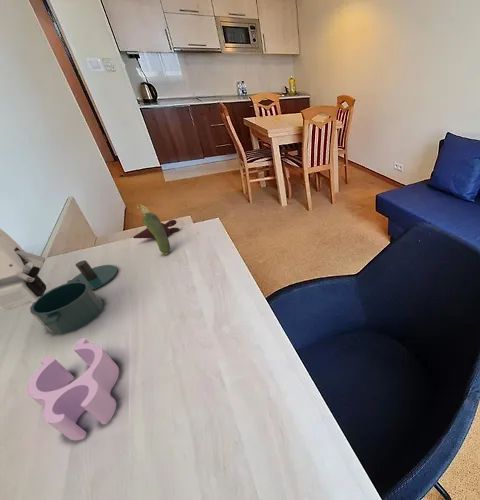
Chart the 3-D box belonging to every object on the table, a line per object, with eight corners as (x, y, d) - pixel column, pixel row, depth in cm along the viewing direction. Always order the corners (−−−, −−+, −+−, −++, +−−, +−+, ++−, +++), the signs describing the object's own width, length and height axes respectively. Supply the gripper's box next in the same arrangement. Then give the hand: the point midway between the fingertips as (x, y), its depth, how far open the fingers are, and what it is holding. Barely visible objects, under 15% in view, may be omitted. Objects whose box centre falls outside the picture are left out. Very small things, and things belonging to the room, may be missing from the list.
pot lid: (62, 300, 90) (46, 282, 86) (76, 275, 100) (62, 258, 96) (113, 286, 93) (100, 268, 89) (121, 263, 104) (110, 246, 100)
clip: (131, 407, 60) (113, 389, 56) (54, 458, 54) (27, 440, 50) (112, 349, 73) (96, 330, 69) (48, 384, 66) (26, 366, 62)
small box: (12, 296, 67) (-4, 279, 64) (44, 286, 69) (30, 270, 66) (3, 312, 62) (-15, 295, 60) (37, 302, 65) (22, 284, 62)
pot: (37, 349, 75) (15, 329, 71) (62, 303, 89) (45, 284, 84) (94, 331, 78) (77, 311, 74) (110, 289, 92) (96, 270, 88)
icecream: (132, 236, 105) (178, 223, 113) (127, 224, 109) (172, 212, 117) (138, 250, 110) (182, 237, 118) (134, 238, 114) (177, 226, 122)
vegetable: (173, 249, 108) (147, 198, 97) (177, 253, 106) (151, 202, 94) (160, 254, 106) (132, 203, 94) (164, 259, 103) (136, 207, 92)
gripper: (-126, 249, 50) (-38, 323, 60) (4, 223, 55) (65, 295, 65) (-93, 228, 55) (-18, 299, 66) (22, 206, 60) (75, 275, 71)
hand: (23, 297), depth 65 cm, fingers closed on small box, 6 cm apart
